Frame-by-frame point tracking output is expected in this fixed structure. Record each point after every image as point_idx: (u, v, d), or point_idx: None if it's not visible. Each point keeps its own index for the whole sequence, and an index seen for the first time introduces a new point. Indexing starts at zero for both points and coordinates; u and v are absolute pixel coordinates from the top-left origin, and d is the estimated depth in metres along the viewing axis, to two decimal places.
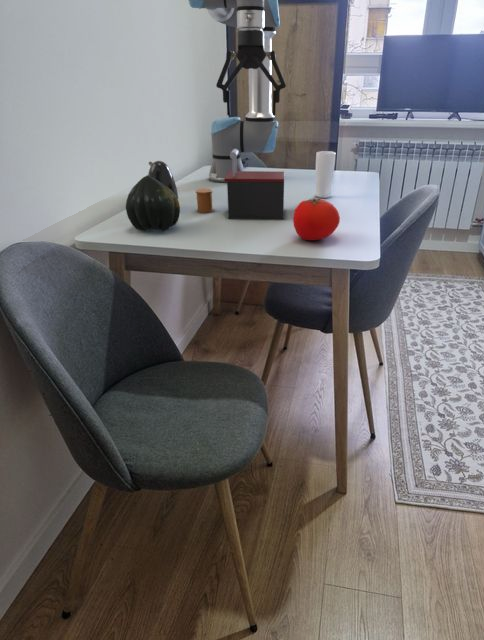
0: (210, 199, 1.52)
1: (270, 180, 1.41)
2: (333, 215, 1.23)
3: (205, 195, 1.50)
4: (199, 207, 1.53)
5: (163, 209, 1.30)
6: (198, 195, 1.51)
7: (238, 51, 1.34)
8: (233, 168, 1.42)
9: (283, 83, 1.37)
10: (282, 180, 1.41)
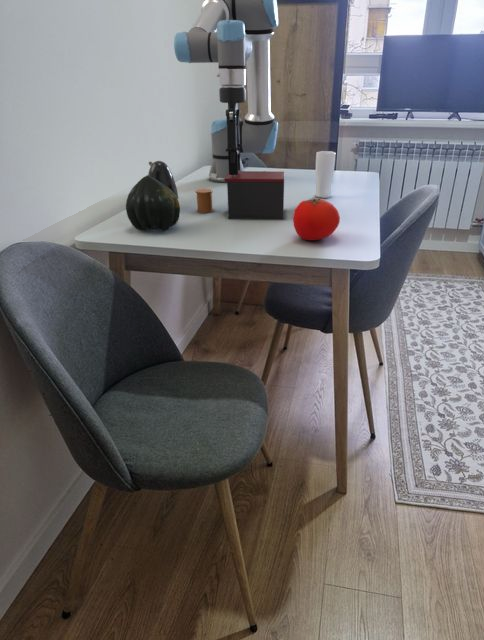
0: (210, 199, 1.52)
1: (270, 180, 1.41)
2: (333, 215, 1.23)
3: (205, 195, 1.50)
4: (199, 207, 1.53)
5: (163, 209, 1.30)
6: (198, 195, 1.51)
7: None
8: None
9: (227, 145, 1.36)
10: (282, 180, 1.41)
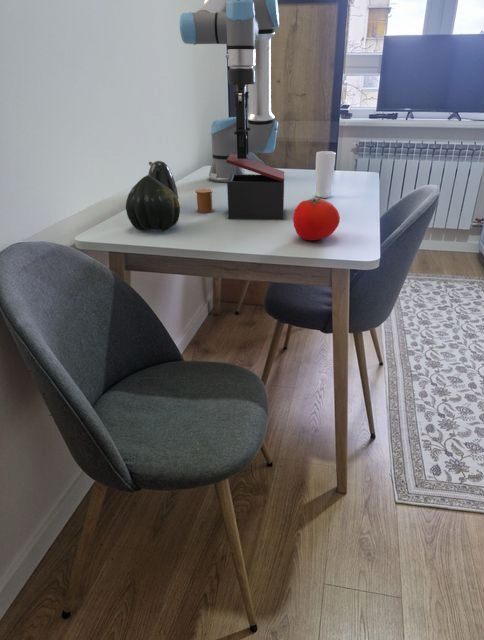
0: (210, 199, 1.52)
1: (271, 176, 1.40)
2: (333, 215, 1.23)
3: (205, 195, 1.50)
4: (199, 207, 1.53)
5: (163, 209, 1.30)
6: (198, 195, 1.51)
7: None
8: None
9: (236, 128, 1.33)
10: (282, 179, 1.41)
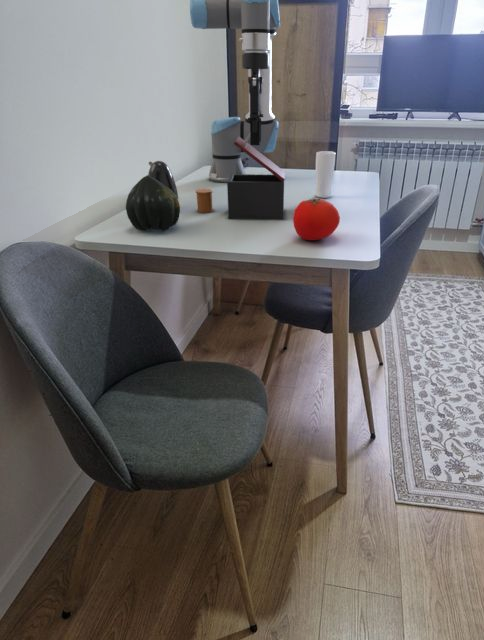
0: (210, 199, 1.52)
1: (273, 172, 1.40)
2: (333, 215, 1.23)
3: (205, 195, 1.50)
4: (199, 207, 1.53)
5: (163, 209, 1.30)
6: (198, 195, 1.51)
7: None
8: (248, 138, 1.38)
9: (250, 113, 1.31)
10: (282, 179, 1.41)
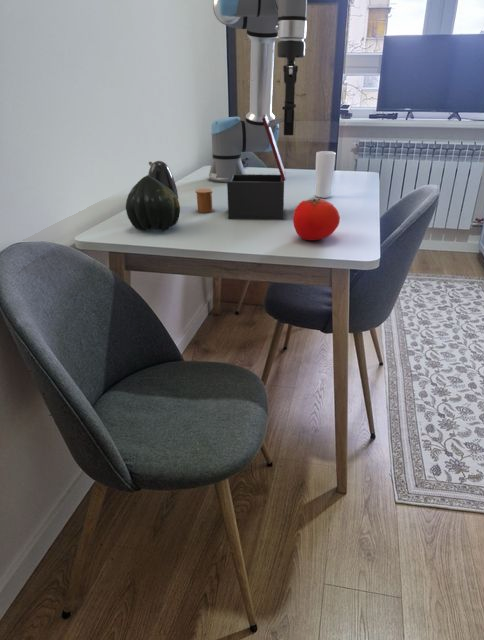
0: (210, 199, 1.52)
1: (279, 167, 1.39)
2: (333, 215, 1.23)
3: (205, 195, 1.50)
4: (199, 207, 1.53)
5: (163, 209, 1.30)
6: (198, 195, 1.51)
7: None
8: (276, 122, 1.35)
9: (285, 102, 1.30)
10: (283, 179, 1.40)
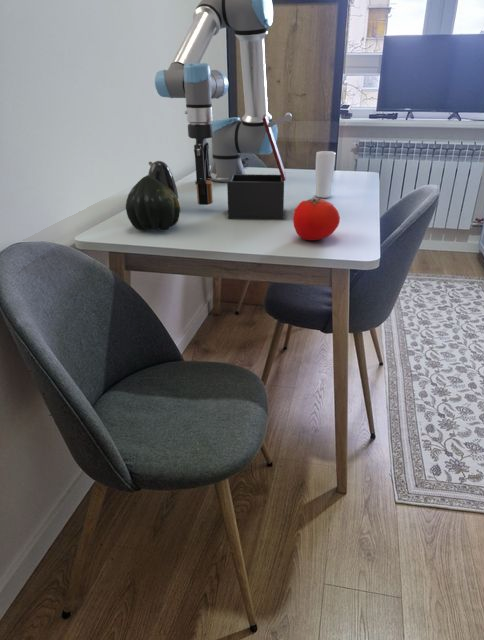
0: (210, 191, 1.51)
1: (279, 167, 1.39)
2: (333, 215, 1.23)
3: None
4: None
5: (163, 209, 1.30)
6: None
7: None
8: (276, 122, 1.35)
9: None
10: (283, 178, 1.40)
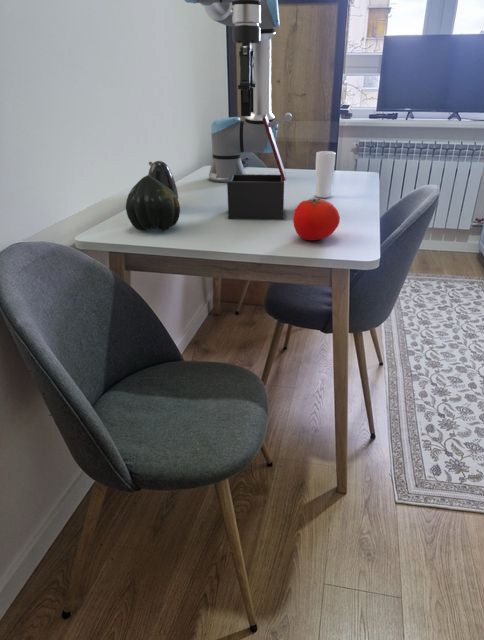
0: None
1: (279, 167, 1.39)
2: (333, 215, 1.23)
3: None
4: None
5: (163, 209, 1.30)
6: None
7: None
8: (276, 122, 1.35)
9: (240, 81, 1.25)
10: (283, 178, 1.40)
